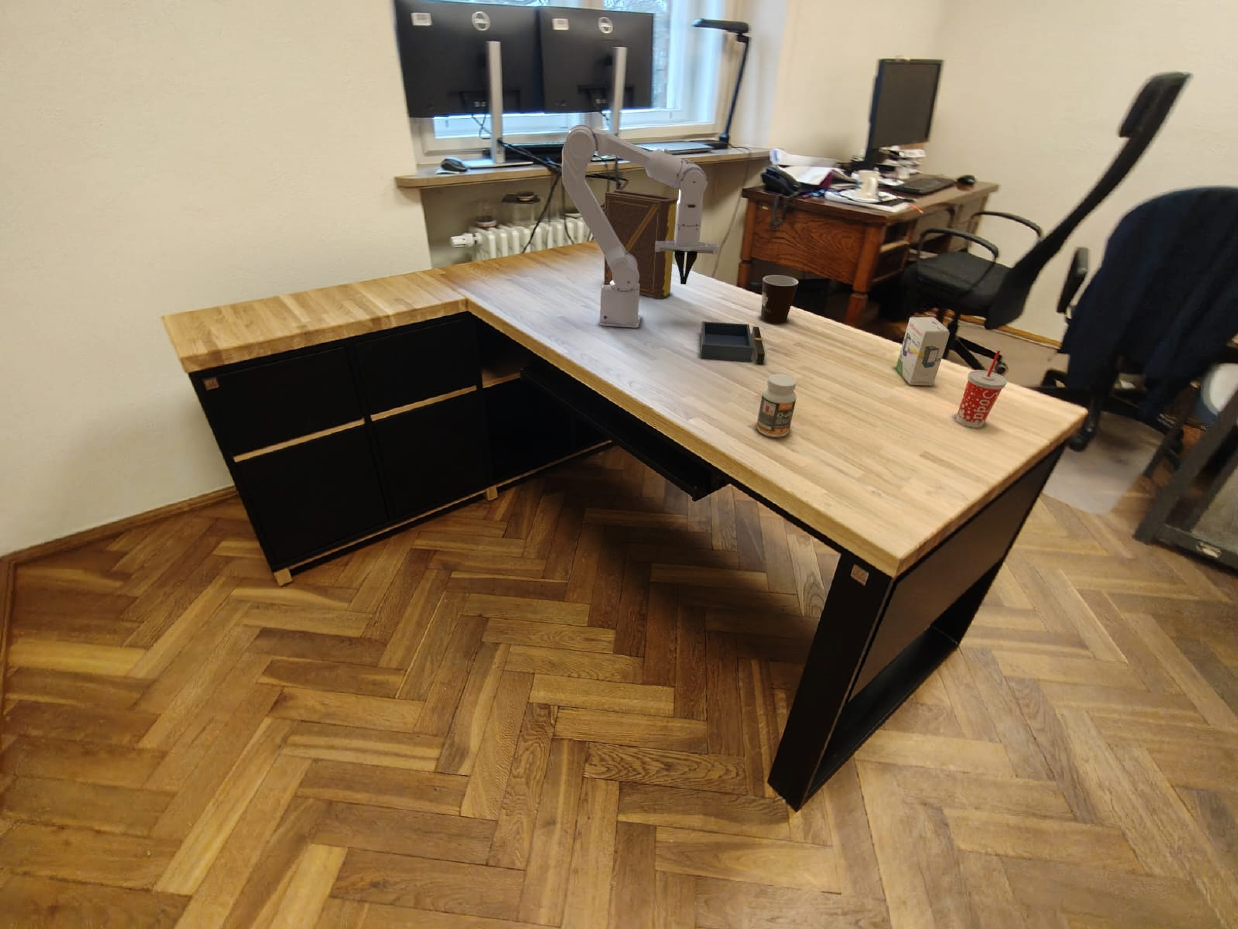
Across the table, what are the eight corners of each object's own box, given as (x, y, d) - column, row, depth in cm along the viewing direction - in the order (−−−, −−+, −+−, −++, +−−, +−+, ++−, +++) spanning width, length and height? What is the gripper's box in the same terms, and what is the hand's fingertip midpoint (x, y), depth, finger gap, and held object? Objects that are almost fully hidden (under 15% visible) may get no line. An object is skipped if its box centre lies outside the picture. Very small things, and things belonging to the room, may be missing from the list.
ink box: (933, 386, 120) (953, 331, 113) (908, 385, 120) (926, 331, 113) (917, 368, 127) (934, 316, 120) (893, 367, 127) (909, 315, 120)
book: (674, 292, 165) (681, 197, 151) (659, 300, 159) (666, 202, 145) (609, 278, 175) (610, 187, 161) (593, 285, 169) (593, 191, 155)
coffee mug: (791, 326, 146) (799, 287, 140) (756, 323, 147) (762, 284, 141) (789, 311, 155) (797, 273, 149) (756, 308, 156) (762, 270, 151)
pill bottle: (778, 442, 101) (789, 390, 95) (749, 430, 104) (758, 379, 98) (794, 429, 104) (805, 379, 99) (766, 418, 107) (775, 369, 102)
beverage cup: (952, 425, 107) (981, 354, 99) (949, 410, 112) (977, 341, 104) (989, 432, 105) (1022, 360, 97) (985, 416, 110) (1015, 347, 102)
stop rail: (755, 363, 127) (757, 352, 125) (750, 336, 140) (752, 325, 139) (763, 364, 127) (765, 353, 125) (757, 336, 140) (759, 326, 138)
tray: (700, 358, 129) (702, 344, 127) (700, 334, 140) (702, 321, 138) (750, 361, 128) (753, 347, 126) (746, 337, 139) (749, 324, 137)
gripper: (655, 225, 130) (652, 286, 138) (720, 229, 129) (713, 290, 137) (657, 219, 136) (654, 277, 144) (720, 222, 135) (713, 280, 143)
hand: (683, 283), depth 141 cm, fingers closed
